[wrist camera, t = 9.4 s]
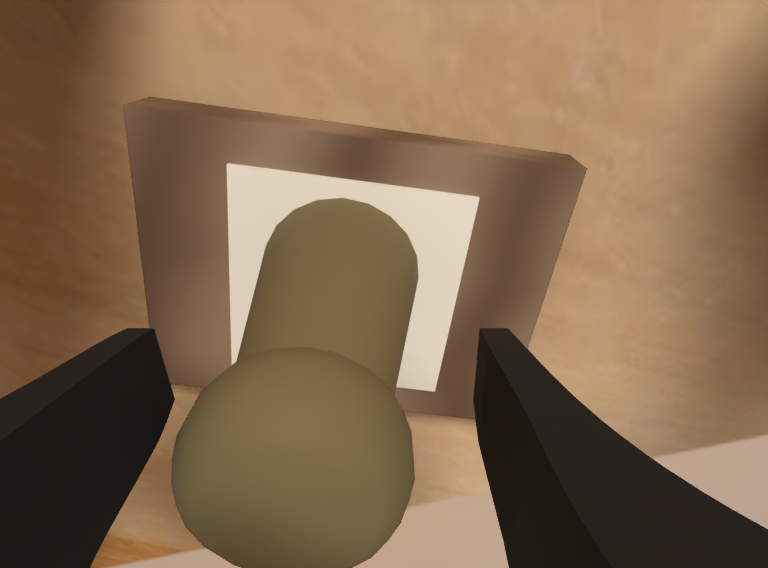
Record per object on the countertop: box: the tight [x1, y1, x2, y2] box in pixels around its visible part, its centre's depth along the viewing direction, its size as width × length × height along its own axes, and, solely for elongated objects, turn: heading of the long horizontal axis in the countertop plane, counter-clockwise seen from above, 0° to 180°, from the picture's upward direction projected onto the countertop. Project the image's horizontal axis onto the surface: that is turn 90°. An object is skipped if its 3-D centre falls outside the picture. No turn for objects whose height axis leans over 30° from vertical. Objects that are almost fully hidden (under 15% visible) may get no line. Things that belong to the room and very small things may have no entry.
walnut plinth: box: [123, 97, 587, 419], centre depth 20 cm, size 16×12×2 cm
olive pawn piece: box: [172, 198, 418, 568], centre depth 14 cm, size 6×6×11 cm
